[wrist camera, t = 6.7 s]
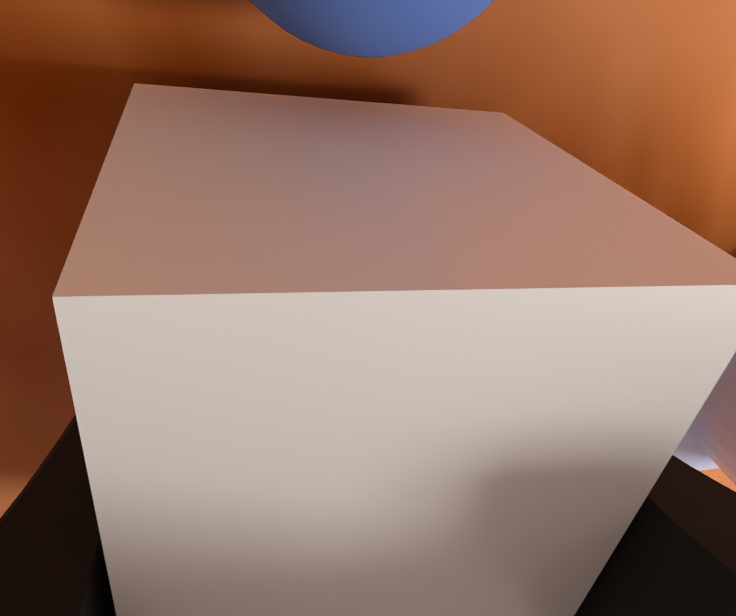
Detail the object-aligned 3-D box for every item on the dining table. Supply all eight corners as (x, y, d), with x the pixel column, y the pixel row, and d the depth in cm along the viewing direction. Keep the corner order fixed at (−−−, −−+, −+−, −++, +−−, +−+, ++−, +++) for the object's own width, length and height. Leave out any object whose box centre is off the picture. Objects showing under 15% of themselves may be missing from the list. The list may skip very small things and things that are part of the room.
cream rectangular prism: (504, 112, 9) (776, 283, 5) (404, 496, 14) (494, 745, 10) (134, 83, 8) (53, 297, 3) (172, 525, 13) (160, 834, 8)
